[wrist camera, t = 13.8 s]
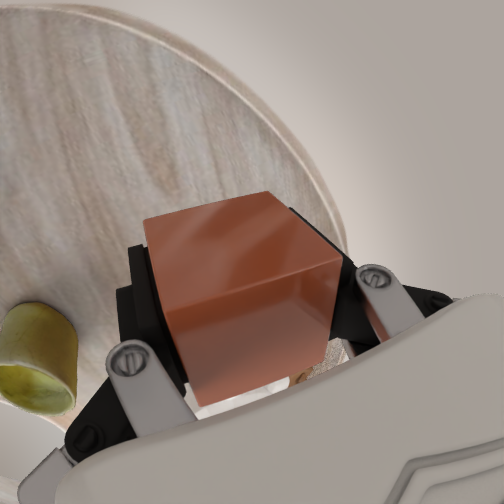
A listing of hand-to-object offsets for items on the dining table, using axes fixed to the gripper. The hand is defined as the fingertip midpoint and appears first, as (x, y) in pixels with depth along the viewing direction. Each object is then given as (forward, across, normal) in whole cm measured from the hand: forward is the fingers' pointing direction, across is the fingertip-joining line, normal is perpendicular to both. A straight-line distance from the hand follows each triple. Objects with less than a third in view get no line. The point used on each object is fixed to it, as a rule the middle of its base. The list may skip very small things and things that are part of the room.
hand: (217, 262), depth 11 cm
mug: (+15, +19, +14) cm, 28 cm away
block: (0, 0, 0) cm, 0 cm away
